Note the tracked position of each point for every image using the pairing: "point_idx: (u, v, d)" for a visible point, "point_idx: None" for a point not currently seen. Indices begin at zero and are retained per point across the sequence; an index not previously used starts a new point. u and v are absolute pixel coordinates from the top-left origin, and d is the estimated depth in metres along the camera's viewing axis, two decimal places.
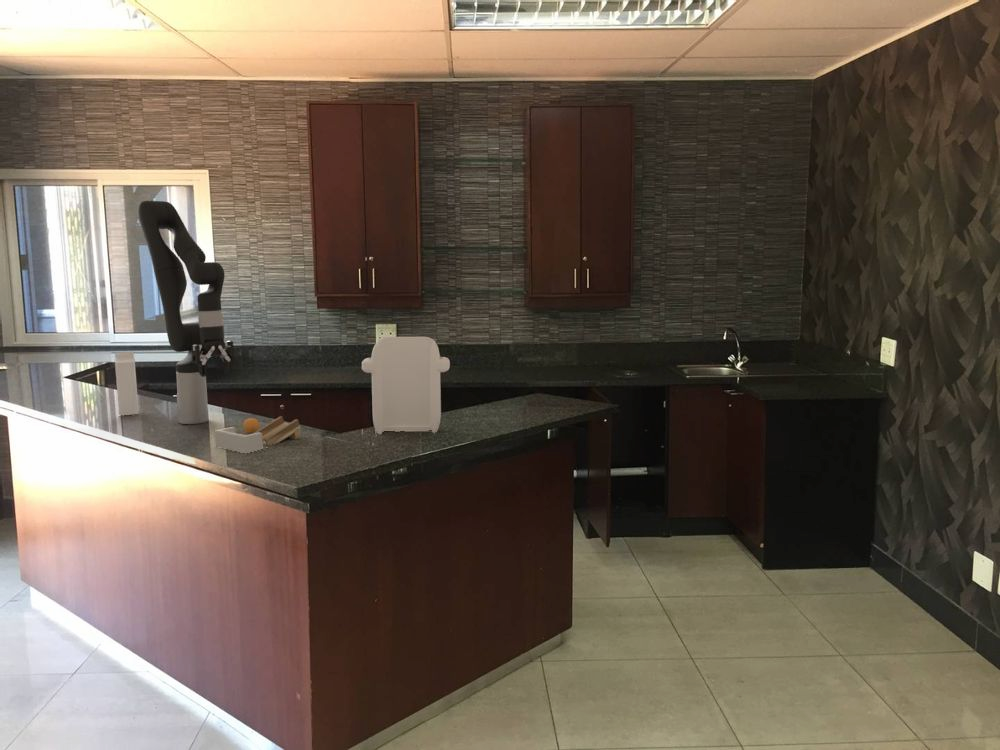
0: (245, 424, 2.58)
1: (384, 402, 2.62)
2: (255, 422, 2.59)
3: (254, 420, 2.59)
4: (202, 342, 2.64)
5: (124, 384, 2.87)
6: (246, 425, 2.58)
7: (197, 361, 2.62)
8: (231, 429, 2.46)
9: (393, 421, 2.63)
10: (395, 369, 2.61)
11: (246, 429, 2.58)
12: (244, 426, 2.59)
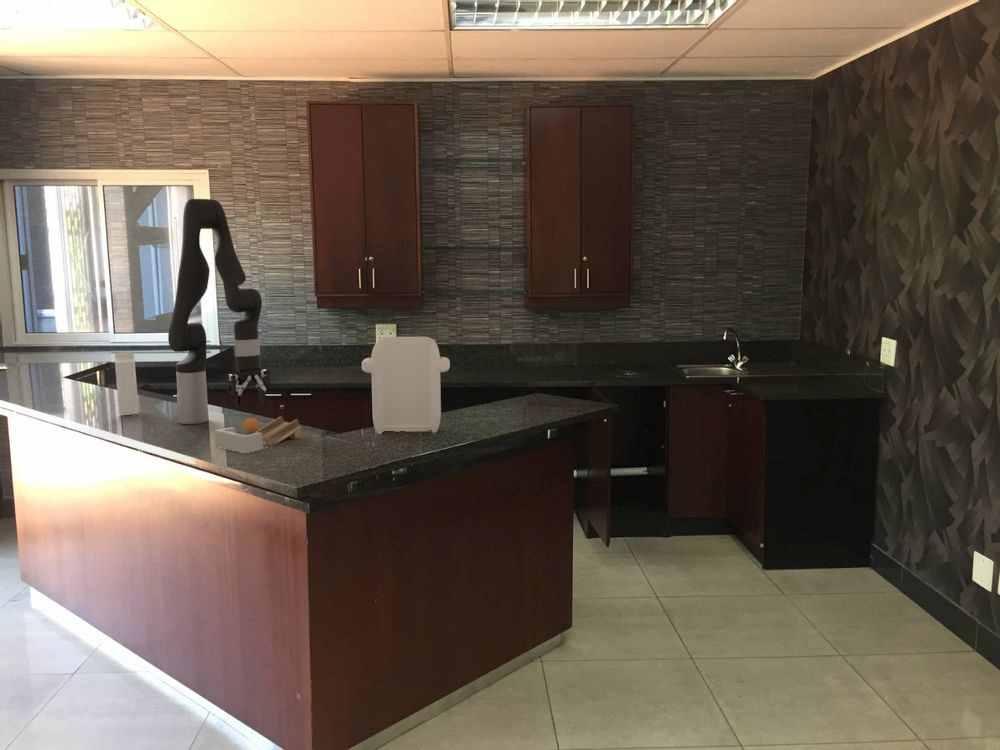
0: (245, 424, 2.58)
1: (384, 402, 2.62)
2: (255, 422, 2.59)
3: (254, 420, 2.59)
4: (238, 372, 2.55)
5: (124, 384, 2.87)
6: (246, 425, 2.58)
7: (233, 392, 2.52)
8: (231, 429, 2.46)
9: (393, 421, 2.63)
10: (395, 369, 2.61)
11: (246, 429, 2.58)
12: (244, 426, 2.59)
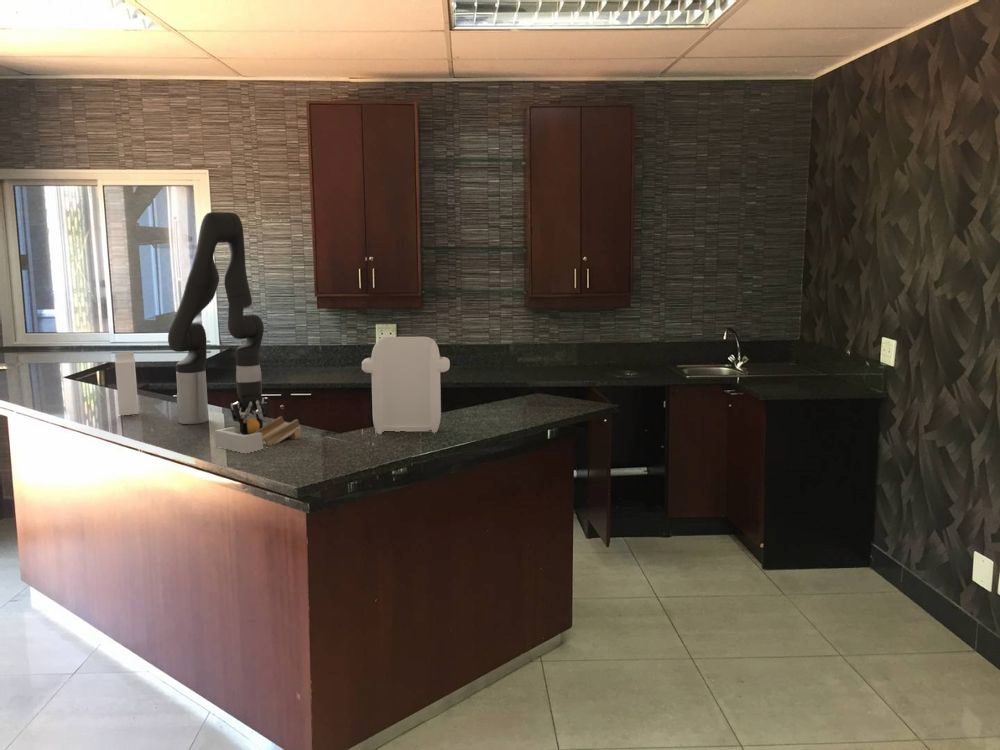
0: None
1: (384, 402, 2.62)
2: (256, 422, 2.59)
3: (254, 420, 2.59)
4: (239, 397, 2.56)
5: (124, 384, 2.87)
6: (247, 425, 2.58)
7: (238, 420, 2.55)
8: (231, 429, 2.46)
9: (393, 421, 2.63)
10: (395, 369, 2.61)
11: None
12: None
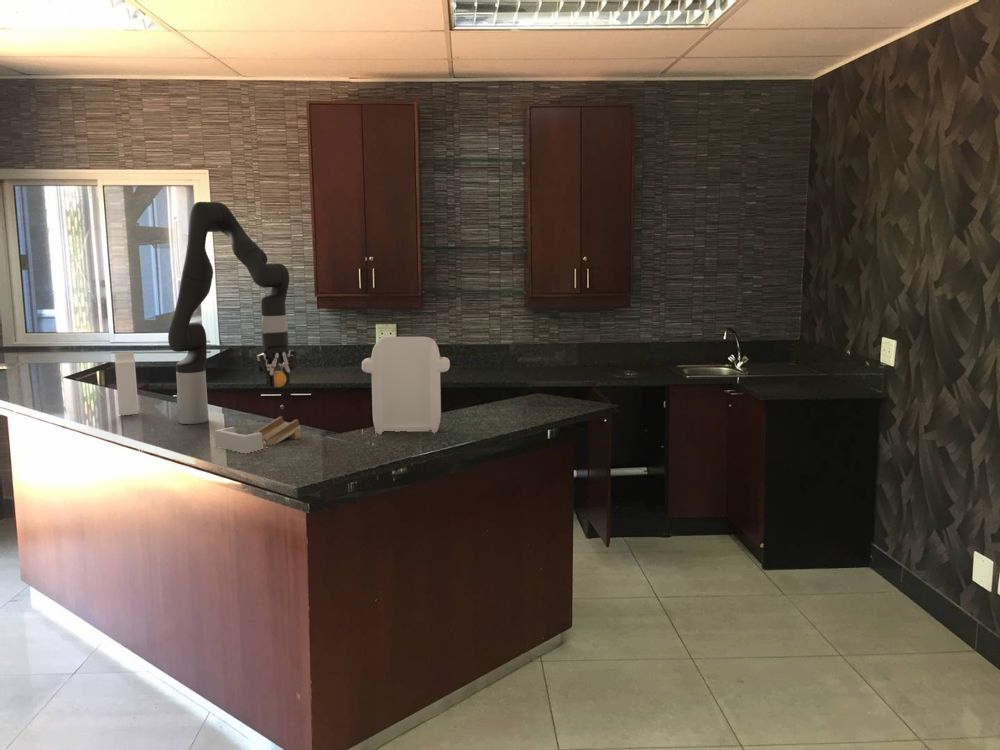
0: None
1: (384, 402, 2.62)
2: (282, 375, 2.51)
3: (281, 373, 2.51)
4: (266, 349, 2.48)
5: (124, 384, 2.87)
6: None
7: (265, 371, 2.47)
8: (231, 429, 2.46)
9: (393, 421, 2.63)
10: (395, 369, 2.61)
11: None
12: None
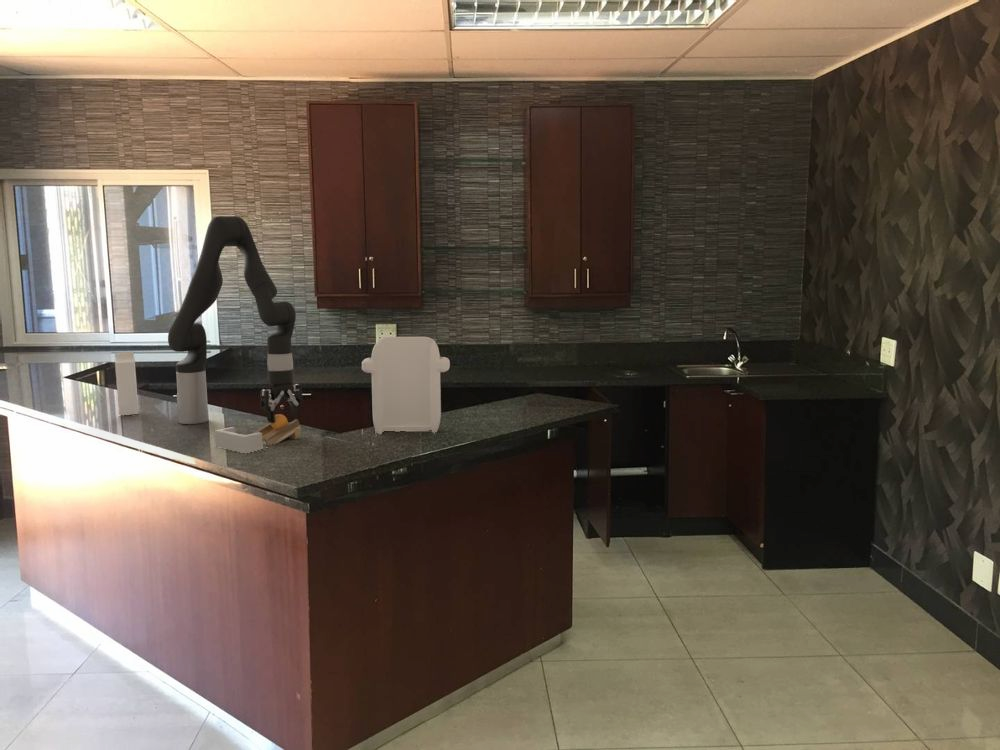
0: (273, 425, 2.51)
1: (384, 402, 2.62)
2: (282, 419, 2.51)
3: (279, 418, 2.51)
4: (271, 386, 2.49)
5: (124, 384, 2.87)
6: (275, 426, 2.51)
7: (266, 407, 2.47)
8: (231, 429, 2.46)
9: (393, 421, 2.63)
10: (395, 369, 2.61)
11: (276, 429, 2.52)
12: (273, 427, 2.51)
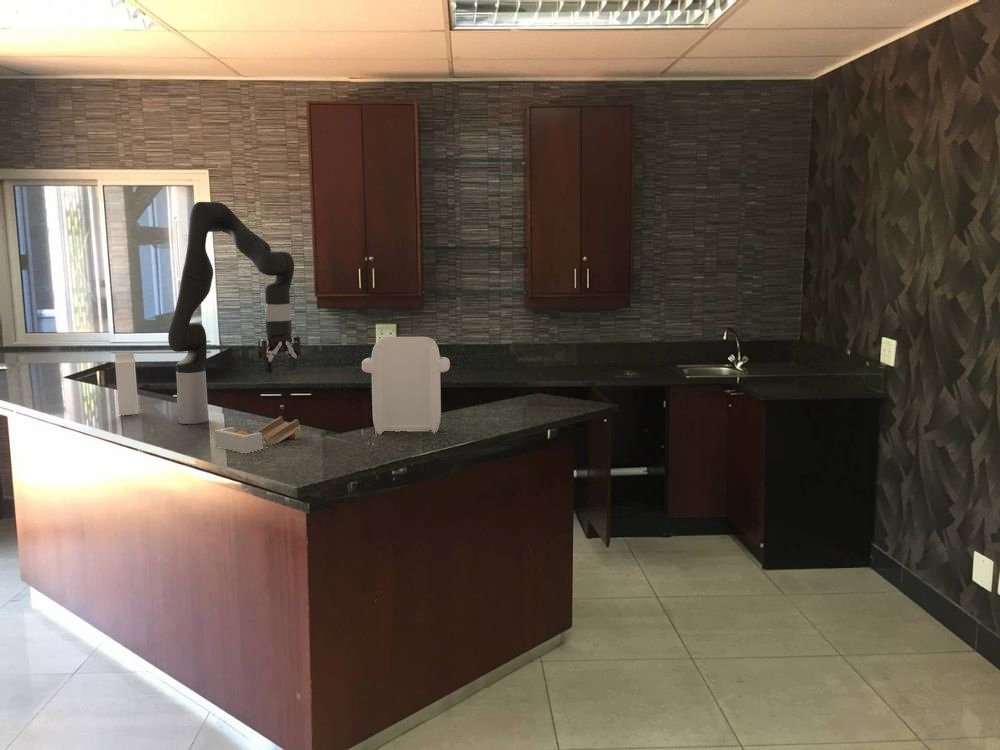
0: None
1: (384, 402, 2.62)
2: None
3: (243, 433, 2.41)
4: (269, 337, 2.47)
5: (124, 384, 2.87)
6: None
7: (264, 358, 2.45)
8: (231, 429, 2.46)
9: (393, 421, 2.63)
10: (395, 369, 2.61)
11: None
12: None
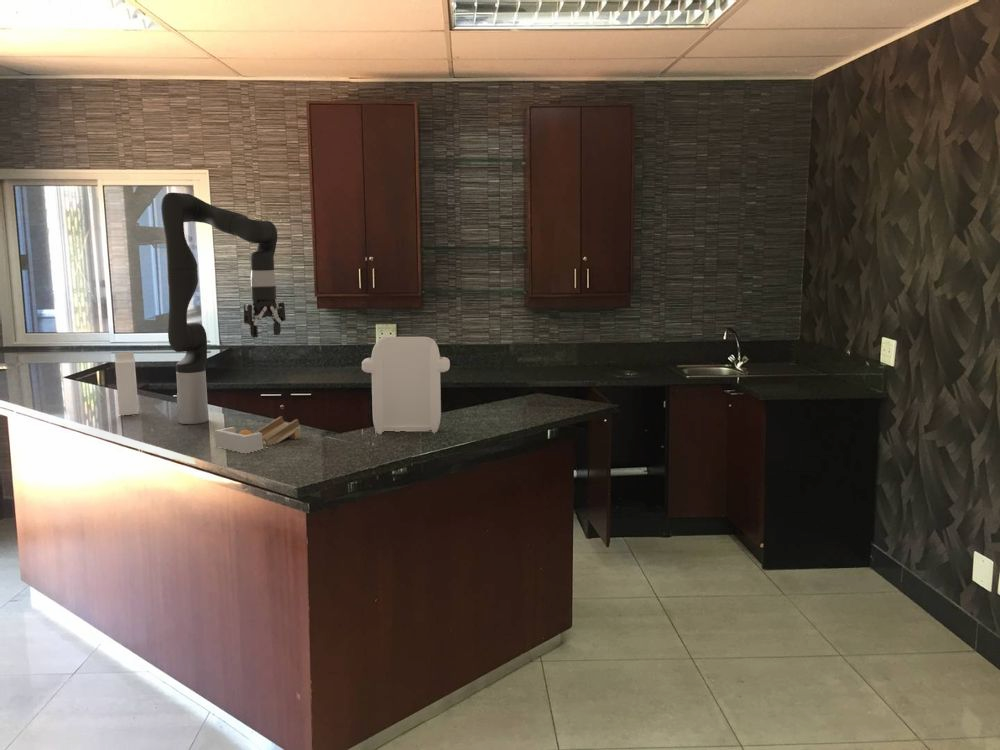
0: None
1: (384, 402, 2.62)
2: None
3: (250, 432, 2.43)
4: (254, 302, 2.58)
5: (124, 384, 2.87)
6: None
7: (249, 321, 2.56)
8: (231, 429, 2.46)
9: (393, 421, 2.63)
10: (395, 369, 2.61)
11: None
12: None
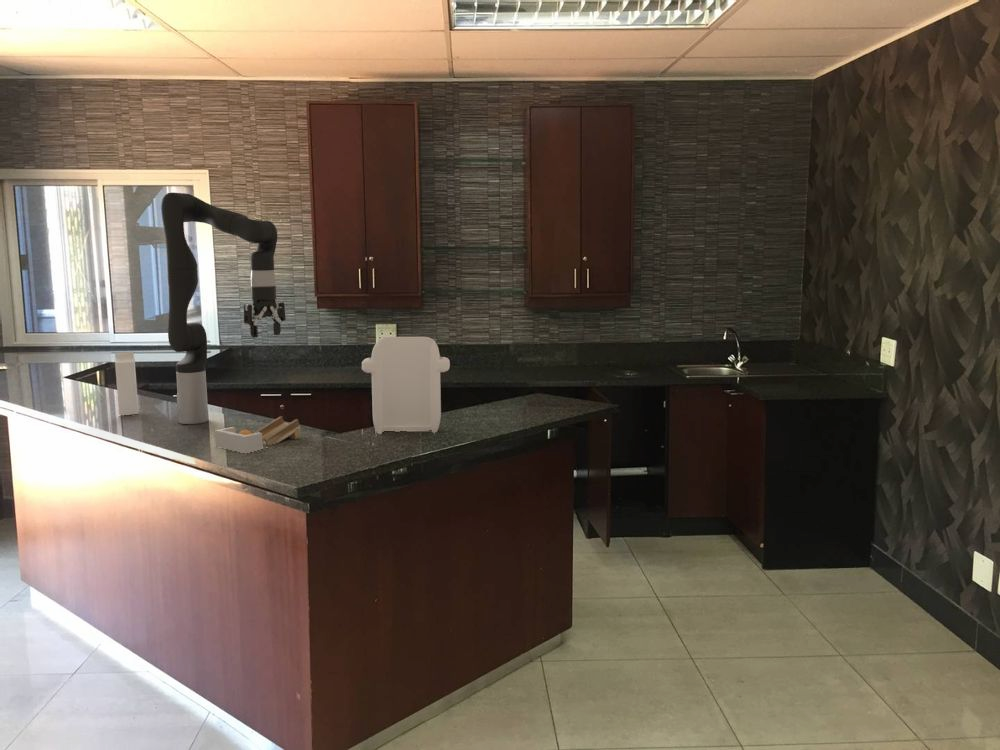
0: None
1: (384, 402, 2.62)
2: None
3: (249, 432, 2.43)
4: (254, 302, 2.58)
5: (124, 384, 2.87)
6: None
7: (249, 321, 2.56)
8: (231, 429, 2.46)
9: (393, 421, 2.63)
10: (395, 369, 2.61)
11: None
12: None
